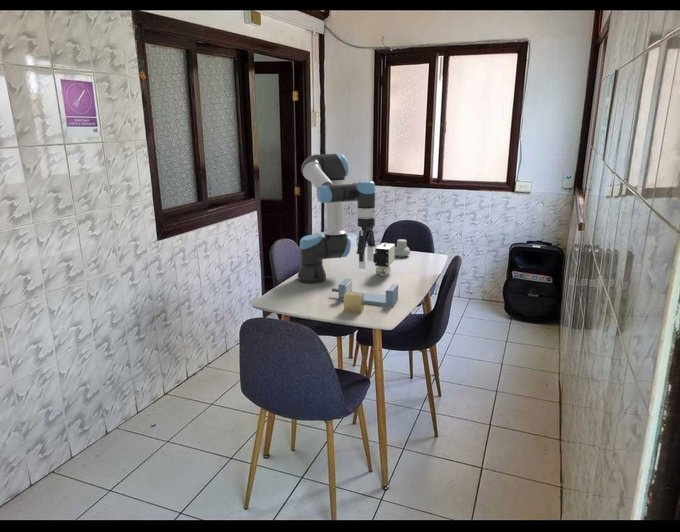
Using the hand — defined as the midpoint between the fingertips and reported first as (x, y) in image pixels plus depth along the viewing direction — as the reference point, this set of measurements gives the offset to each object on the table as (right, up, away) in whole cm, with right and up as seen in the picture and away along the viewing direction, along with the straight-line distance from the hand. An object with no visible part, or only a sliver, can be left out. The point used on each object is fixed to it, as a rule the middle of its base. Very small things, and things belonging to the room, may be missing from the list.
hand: (366, 264), depth 218 cm
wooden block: (-6, -21, -2) cm, 21 cm away
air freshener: (+27, +5, +86) cm, 90 cm away
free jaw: (-11, -14, +15) cm, 23 cm away
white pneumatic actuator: (+12, -6, +49) cm, 51 cm away
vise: (+2, -17, +11) cm, 20 cm away
